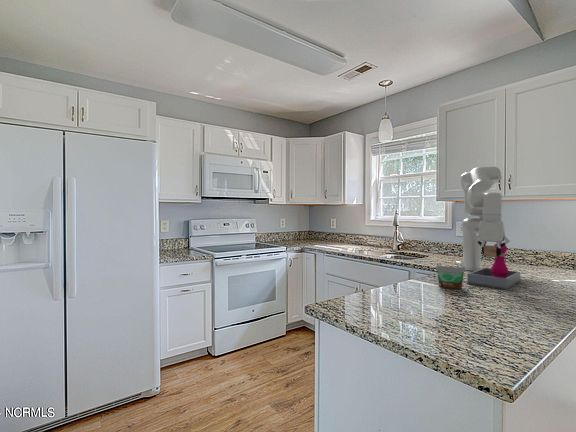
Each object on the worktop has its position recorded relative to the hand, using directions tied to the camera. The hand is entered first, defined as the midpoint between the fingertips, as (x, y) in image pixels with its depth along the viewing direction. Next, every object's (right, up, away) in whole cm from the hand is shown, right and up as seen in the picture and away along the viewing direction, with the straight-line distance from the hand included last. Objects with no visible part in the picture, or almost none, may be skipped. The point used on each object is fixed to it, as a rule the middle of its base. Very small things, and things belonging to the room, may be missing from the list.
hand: (491, 255), depth 148 cm
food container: (-24, -14, -8) cm, 29 cm away
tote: (+4, -14, +4) cm, 16 cm away
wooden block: (0, -1, 0) cm, 1 cm away
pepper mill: (+9, -14, +8) cm, 18 cm away
